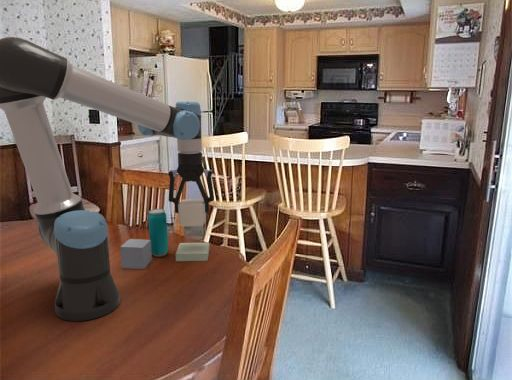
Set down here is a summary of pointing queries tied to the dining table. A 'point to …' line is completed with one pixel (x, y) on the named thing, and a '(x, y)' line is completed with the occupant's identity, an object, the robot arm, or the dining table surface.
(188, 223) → the cream brick
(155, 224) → the beverage can
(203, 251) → the base plate
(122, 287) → the dining table surface
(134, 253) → the gray cube
